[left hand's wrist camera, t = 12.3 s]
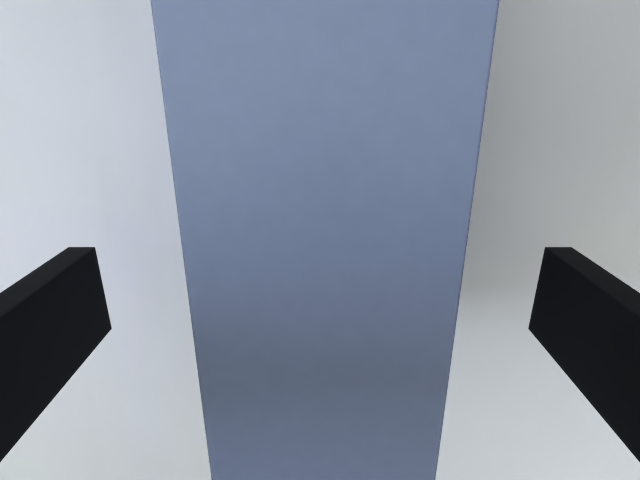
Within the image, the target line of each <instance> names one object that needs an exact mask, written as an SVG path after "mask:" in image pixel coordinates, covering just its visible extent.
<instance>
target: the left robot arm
mask: <svg viewBox="0 0 640 480" xmlns="http://www.w3.org/2000/svg"><path fill="white" fill-rule="evenodd" d="M111 329H112V328H111V324H110V319H109V314H108V309H107V304H106V299H105V294H104V289H103V284H102V280H101V275H100V270H99V265H98V260H97V255H96V250H95V247H68V248H67V249H65V250H64V251H62V252H61V253H59V254H58V255H56V256H55V257H53V258H52V259H50V260H49V261H47V262H46V263H44V264H43V265H41V266H40V267H38V268H37V269H35V270H34V271H32V272H31V273H30V274H28V275H27V276H25V277H24V278H22V279H21V280H19V281H18V282H16V283H15V284H13V285H12V286H10V287H9V288H7V289H6V290H4V291H3V292H1V293H0V462H1V461H2V459H3V458H4V457H5V456H6V455H7V453H8V452H9V451H10V450H11V449H12V447H13V446H14V445H15V444H16V443H17V441H18V440H19V439H20V438H21V437H22V435H23V434H24V433H25V432H26V431H27V429H28V428H29V427H30V426H31V425H32V423H33V422H34V421H35V420H36V419H37V417H38V416H39V415H40V414H41V413H42V411H43V410H44V409H45V408H46V407H47V405H48V404H49V403H50V402H51V401H52V399H53V398H54V397H55V396H56V395H57V393H58V392H59V391H60V390H61V389H62V387H63V386H64V385H65V384H66V383H67V381H68V380H69V379H70V378H71V377H72V375H73V374H74V373H75V372H76V371H77V369H78V368H79V367H80V366H81V365H82V363H83V362H84V361H85V360H86V359H87V357H88V356H89V355H90V354H91V353H92V351H93V350H94V349H95V348H96V347H97V345H98V344H99V343H100V342H101V341H102V339H103V338H104V337H105V336H106V335H107V333H108V332H109V331H110V330H111ZM528 329H529V330H530V331H531V332H532V333H533V335H534V336H535V337H536V338H537V339H538V341H539V342H540V343H541V344H542V345H543V347H544V348H545V349H546V350H547V351H548V353H549V354H550V355H551V356H552V357H553V359H554V360H555V361H556V362H557V363H558V365H559V366H560V367H561V368H562V369H563V371H564V372H565V373H566V374H567V375H568V377H569V378H570V379H571V380H572V381H573V383H574V384H575V385H576V386H577V387H578V389H579V390H580V391H581V392H582V393H583V395H584V396H585V397H586V398H587V399H588V401H589V402H590V403H591V404H592V405H593V407H594V408H595V409H596V410H597V411H598V413H599V414H600V415H601V416H602V417H603V419H604V420H605V421H606V422H607V423H608V425H609V426H610V427H611V428H612V429H613V431H614V432H615V433H616V434H617V435H618V437H619V438H620V439H621V440H622V441H623V443H624V444H625V445H626V446H627V447H628V449H629V450H630V451H631V452H632V453H633V455H634V456H635V457H636V458H637V459H638V461H639V462H640V293H639V292H637V291H636V290H634V289H633V288H631V287H630V286H628V285H627V284H625V283H624V282H622V281H621V280H619V279H618V278H616V277H615V276H613V275H612V274H610V273H609V272H607V271H606V270H605V269H603V268H602V267H600V266H599V265H597V264H596V263H594V262H593V261H591V260H590V259H588V258H587V257H585V256H584V255H582V254H581V253H579V252H578V251H576V250H575V249H573V248H572V247H545V250H544V255H543V260H542V265H541V270H540V275H539V280H538V284H537V289H536V294H535V299H534V304H533V309H532V314H531V319H530V323H529V328H528Z"/></svg>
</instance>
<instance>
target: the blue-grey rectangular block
mask: <svg viewBox="0 0 640 480" xmlns="http://www.w3.org/2000/svg"><path fill="white" fill-rule="evenodd" d="M498 5H499V0H151V7H152V14H153V22H154V30H155V38H156V46H157V54H158V62H159V69H160V77H161V85H162V93H163V101H164V109H165V117H166V124H167V132H168V140H169V148H170V156H171V164H172V172H173V179H174V187H175V195H176V203H177V211H178V219H179V227H180V234H181V242H182V250H183V258H184V266H185V274H186V282H187V289H188V297H189V305H190V313H191V321H192V329H193V337H194V344H195V352H196V360H197V368H198V376H199V384H200V392H201V399H202V407H203V415H204V423H205V431H206V439H207V447H208V454H209V462H210V470H211V478H212V480H435V477H436V469H437V462H438V455H439V447H440V440H441V432H442V425H443V417H444V410H445V402H446V395H447V387H448V380H449V372H450V365H451V357H452V350H453V342H454V335H455V327H456V320H457V312H458V305H459V297H460V290H461V282H462V275H463V267H464V260H465V252H466V245H467V237H468V230H469V222H470V215H471V207H472V200H473V192H474V185H475V177H476V170H477V163H478V155H479V148H480V140H481V133H482V125H483V118H484V110H485V103H486V95H487V88H488V80H489V73H490V65H491V58H492V50H493V43H494V35H495V28H496V20H497V13H498Z"/></svg>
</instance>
